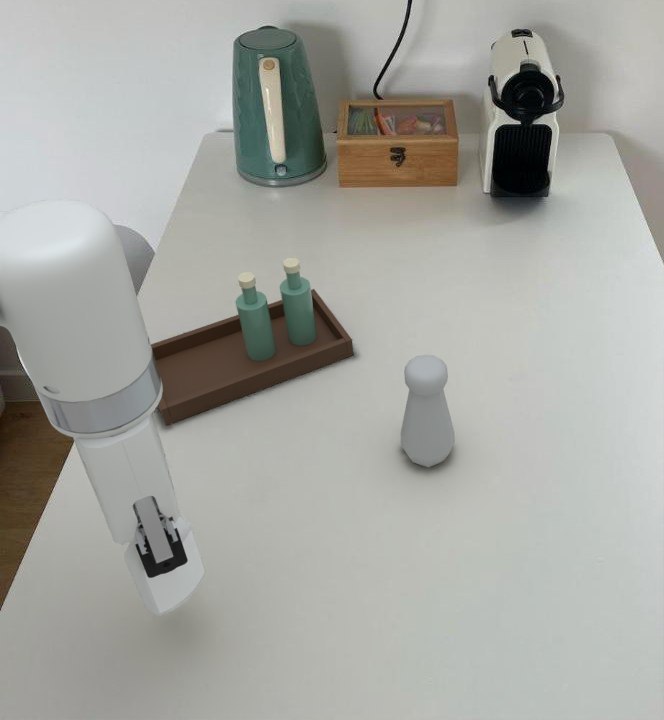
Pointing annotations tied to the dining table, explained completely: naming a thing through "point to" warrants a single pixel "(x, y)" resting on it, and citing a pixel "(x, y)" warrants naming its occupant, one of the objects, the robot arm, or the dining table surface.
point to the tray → (239, 361)
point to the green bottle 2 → (297, 305)
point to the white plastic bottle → (168, 574)
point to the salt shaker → (426, 412)
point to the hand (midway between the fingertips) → (158, 544)
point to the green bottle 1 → (255, 319)
